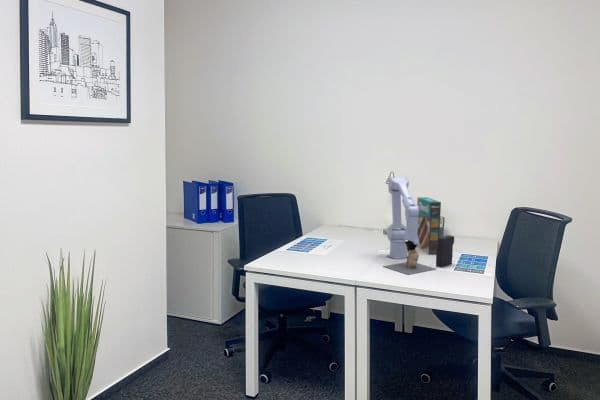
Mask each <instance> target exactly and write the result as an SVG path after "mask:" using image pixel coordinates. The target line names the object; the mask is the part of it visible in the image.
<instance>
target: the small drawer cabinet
mask: <svg viewBox="0 0 600 400" xmlns="http://www.w3.org/2000/svg"><path fill="white" fill-rule="evenodd" d="M454 244H455V236H454V235H447V234H446V235H443V236H439V238H438V239H437V250H436V256H435V257H436V258H435V266H436V267H439V268H443V267H446V266H449V265H452V264H453V250H454V249H453V247H454Z"/></svg>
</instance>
